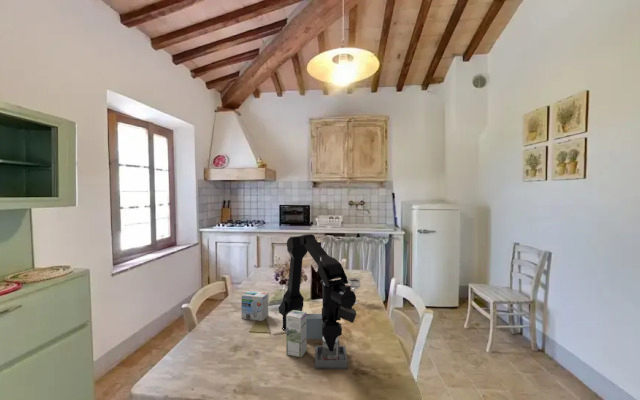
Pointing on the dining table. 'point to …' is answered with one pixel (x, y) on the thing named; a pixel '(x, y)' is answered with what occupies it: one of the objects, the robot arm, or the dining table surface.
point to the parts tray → (331, 364)
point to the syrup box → (296, 333)
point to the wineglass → (354, 284)
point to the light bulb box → (254, 305)
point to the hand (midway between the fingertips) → (330, 344)
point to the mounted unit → (314, 328)
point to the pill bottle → (330, 354)
